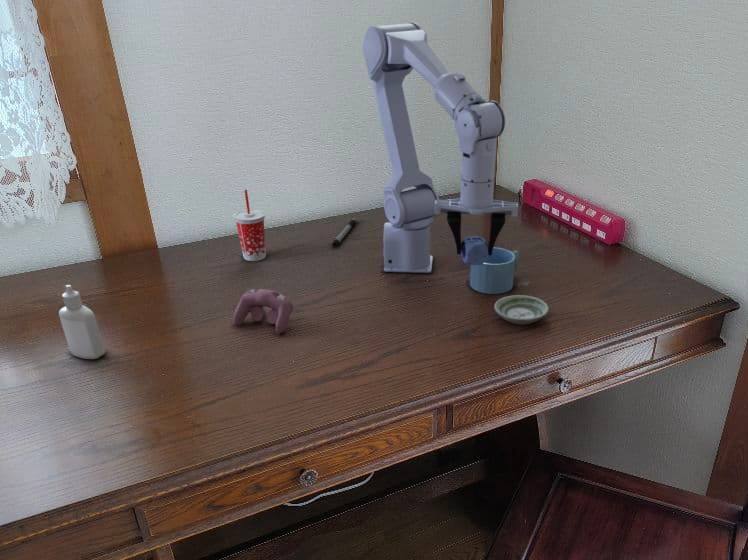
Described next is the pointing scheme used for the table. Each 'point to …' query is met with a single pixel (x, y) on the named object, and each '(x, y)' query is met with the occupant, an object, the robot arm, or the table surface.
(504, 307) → the saucer
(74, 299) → the eye dropper bottle
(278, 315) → the video game controller
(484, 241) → the decorative dice
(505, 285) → the mug
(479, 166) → the robot arm
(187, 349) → the table surface
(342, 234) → the pen
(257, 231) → the beverage cup
